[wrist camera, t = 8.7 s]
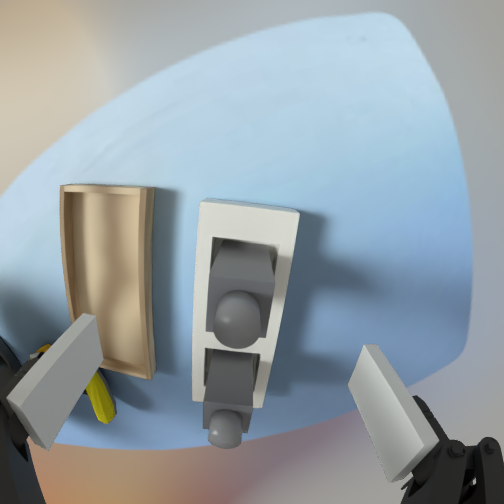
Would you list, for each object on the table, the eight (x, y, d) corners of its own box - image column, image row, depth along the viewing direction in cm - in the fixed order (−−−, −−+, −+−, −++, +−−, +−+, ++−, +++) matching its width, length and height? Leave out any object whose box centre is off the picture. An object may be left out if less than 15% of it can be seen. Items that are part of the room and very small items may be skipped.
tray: (87, 351, 30) (80, 360, 27) (72, 183, 24) (60, 185, 22) (156, 368, 30) (151, 380, 28) (155, 187, 24) (146, 188, 22)
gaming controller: (127, 403, 32) (105, 349, 30) (115, 429, 27) (86, 375, 24) (54, 387, 32) (31, 337, 30) (39, 407, 27) (11, 356, 24)
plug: (223, 239, 25) (202, 292, 14) (267, 245, 25) (279, 301, 14) (219, 280, 26) (199, 353, 15) (261, 285, 26) (267, 361, 15)
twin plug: (213, 368, 29) (199, 449, 18) (214, 340, 28) (199, 423, 17) (248, 372, 29) (247, 454, 18) (252, 344, 28) (253, 429, 17)
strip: (196, 411, 32) (192, 431, 28) (206, 198, 24) (198, 202, 21) (255, 417, 32) (255, 438, 29) (294, 208, 25) (301, 215, 21)
